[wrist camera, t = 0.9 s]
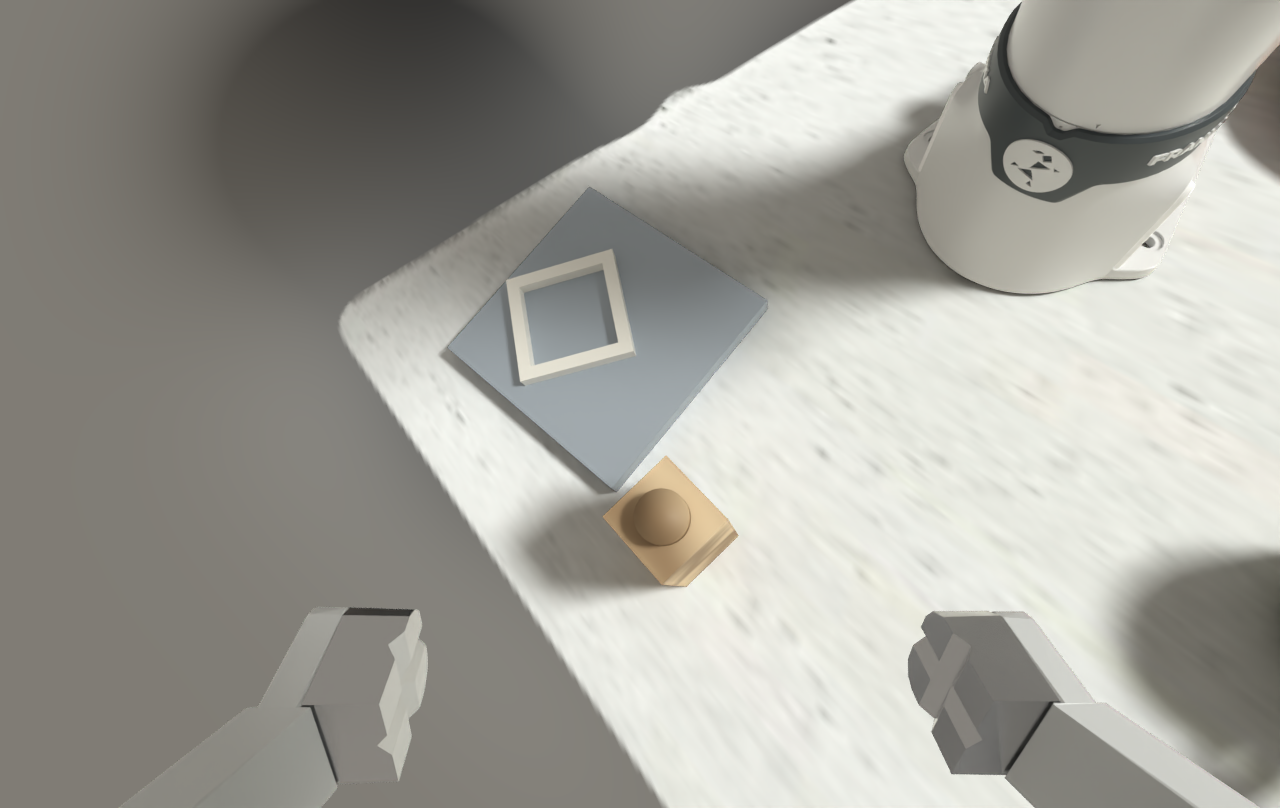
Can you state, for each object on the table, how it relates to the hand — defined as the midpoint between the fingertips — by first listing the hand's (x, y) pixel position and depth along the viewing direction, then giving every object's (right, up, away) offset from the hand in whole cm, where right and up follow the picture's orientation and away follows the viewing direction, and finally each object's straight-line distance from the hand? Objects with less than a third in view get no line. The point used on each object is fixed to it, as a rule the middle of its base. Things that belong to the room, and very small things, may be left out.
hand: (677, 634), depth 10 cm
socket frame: (-6, +10, +38) cm, 40 cm away
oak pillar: (+3, -5, +33) cm, 34 cm away
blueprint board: (-3, +9, +39) cm, 40 cm away
